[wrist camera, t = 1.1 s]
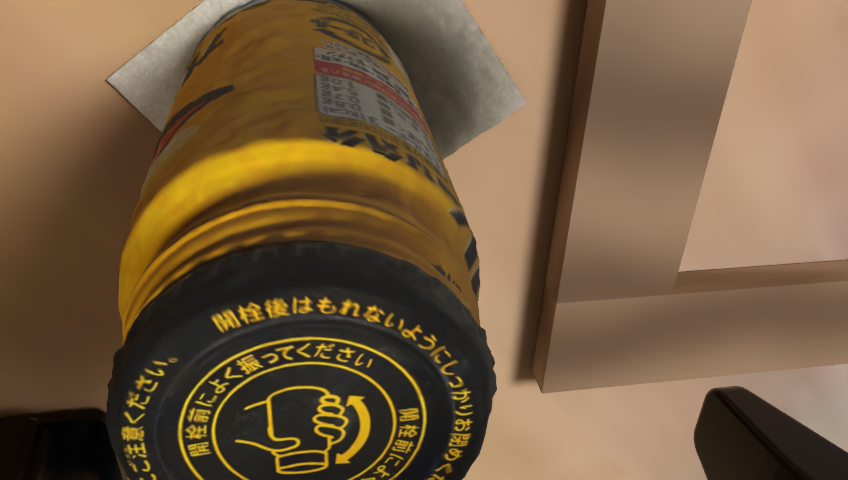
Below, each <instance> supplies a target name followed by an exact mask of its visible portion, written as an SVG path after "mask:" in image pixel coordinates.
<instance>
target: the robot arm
mask: <svg viewBox="0 0 848 480" xmlns="http://www.w3.org/2000/svg"><path fill="white" fill-rule="evenodd" d="M90 424H95V425H97V426H93V425H90ZM694 444H695V448H696V451H697V454H698V456H699V459H700V462H701V464H702V467H703V469H704V472H705V474H706V477H707V480H848V453H847V452H846V451H844V450H843V449H841V448H839V447H838V446H836V445H835V444H833V443H831V442H830V441H828V440H827V439H825V438H824V437H822V436H820V435H819V434H817V433H816V432H814V431H812V430H811V429H809V428H808V427H806V426H804V425H803V424H801V423H800V422H798V421H796V420H795V419H793V418H792V417H790V416H788V415H787V414H785V413H784V412H782V411H780V410H779V409H777V408H776V407H774V406H772V405H771V404H769V403H768V402H766V401H764V400H763V399H761V398H760V397H758V396H756V395H755V394H753V393H752V392H750V391H749V390H747V389H745V388H743V387H739V386H730V387H721V388H714V389H711V390H710V391H709V392H708V393H707V394H706V396H705V399H704V402H703V405H702V409H701V412H700V415H699V418H698V421H697V424H696V427H695V431H694ZM0 480H128V479H127V475H126V473H125V471H124V469H123V467H122V466H121V464H120V462H119V459H118V457H117V455H116V453H115V451H114V450H113V448H112V446H111V442H110V438H109V434H108V429H107V422H106V413H104V412H103V411H99V410H81V411H71V412H60V413H49V414H38V415H27V416H16V417H5V418H0Z"/></svg>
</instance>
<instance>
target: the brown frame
mask: <svg viewBox="0 0 848 480" xmlns="http://www.w3.org/2000/svg"><path fill="white" fill-rule="evenodd" d="M751 1H752V0H588V3H587V9H586V16H585V23H584V29H583V36H582V43H581V49H580V56H579V62H578V69H577V76H576V82H575V89H574V96H573V102H572V109H571V116H570V122H569V129H568V135H567V142H566V149H565V155H564V162H563V169H562V175H561V182H560V189H559V195H558V202H557V208H556V215H555V222H554V228H553V235H552V242H551V248H550V255H549V262H548V268H547V275H546V281H545V288H544V295H543V301H542V308H541V315H540V321H539V328H538V335H537V341H536V348H535V354H534V361H533V368H532V371H533V373H534V376H535V378H536V381H537V383H538V385H539V388H540V390H541V392H542V393H551V392H561V391H572V390H582V389H592V388H602V387H613V386H623V385H633V384H643V383H654V382H664V381H674V380H684V379H694V378H705V377H715V376H725V375H735V374H746V373H756V372H766V371H776V370H787V369H797V368H807V367H817V366H828V365H838V364H848V260H840V261H826V262H812V263H798V264H785V265H771V266H757V267H743V268H730V269H716V270H702V271H689V272H678V270H679V267H680V263H681V259H682V256H683V252H684V248H685V245H686V241H687V237H688V233H689V230H690V226H691V222H692V219H693V215H694V211H695V208H696V204H697V200H698V197H699V193H700V189H701V186H702V182H703V178H704V174H705V171H706V167H707V163H708V160H709V156H710V152H711V149H712V145H713V141H714V138H715V134H716V130H717V127H718V123H719V119H720V116H721V112H722V108H723V104H724V101H725V97H726V93H727V90H728V86H729V82H730V79H731V75H732V71H733V68H734V64H735V60H736V57H737V53H738V49H739V46H740V42H741V38H742V34H743V31H744V27H745V23H746V20H747V16H748V12H749V9H750V5H751Z"/></svg>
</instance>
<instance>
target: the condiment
mask: <svg viewBox="0 0 848 480" xmlns="http://www.w3.org/2000/svg"><path fill="white" fill-rule="evenodd" d="M107 81H108V82H109V83H110V84H112V85H113V86H114V87H115V88H116V89H117V90H118V91H119V92H120V93H121V94H122V95H123V96H124V97H125V98H126V99H127V100H128V101H129V102H130V103H131V104H132V105H133V106H135V107H136V108H137V110H138V111H139V112H141V113H142V114H143V115H144V116H145V117H147V118H148V119H149V120H150V122H151V123H152V124H153V125H154V126H155V127H156V128H157V129H158V130H160V131H161V132H162V136H161V137H160V138H159V141H158V144H157V147H156V150H155V154H154V157H153V162H152V164H151V165H150V168H149V171H148V175H147V176H146V178H145V182H144V183H143V185H142V188H141V192H140V200H139V202H138V203H137V204H136V206H135V207H134V210H133V214H132V219H131V222H130V225H129V229H128V233H127V235H126V238H125V241H124V247H123V249H122V252H121V256H120V263H119V291H118V295H119V296H118V305H119V312H120V316H121V320H122V324H123V326H122V343H123V344H122V347H121V348H120V349H119V350H118V351H117V352H115V355H114V357H113V370H112V378H111V379H110V381H109V383H108V390H109V392H108V400H107V411H106V422H107V429H108V434H109V438H110V442H111V446H112V448H113V450H114V451H115V453H116V455H117V457H118V459H119V462H120V464H121V466H122V467H123V469H124V471H125V473H126V475H127V477H128V478H129V479H130V480H462V479H463V478H464V477H465V475H466V474H467V472H468V470H469V468H470V467H471V465H472V464H473V462H474V461H475V460H476V458H477V457H478V455H479V453H480V450H481V447H482V444H483V441H484V437H485V433H486V429H487V423H488V418H489V415H490V412H491V410H492V398H493V396H494V394H495V392H496V390H497V387H496V374H495V372H494V370H493V367H494V364H495V362H494V358H493V356H492V354H491V351H490V349H489V347H488V345H487V337H486V332H485V330H484V329H483V328H481V327H480V320H479V309H478V302H477V301H478V297H479V289H480V278H479V257H478V253H477V249H476V240H475V238H474V236H473V233H472V231H471V229H470V227H469V225H468V222H467V219H466V216H465V213H464V210H463V207H462V205H461V203H460V201H459V199H458V197H457V194H456V192H455V190H454V187H453V184H452V182H451V180H450V177H449V175H448V172H447V169H446V168H445V165H444V163H443V159H444V158H446V157H448V156H449V155H451V154H453V153H454V152H455V151H456V150H458V149H459V148H460V147H461V146H463V145H465V144H466V143H468V142H469V141H471V140H472V139H474V138H475V137H476V136H478V135H480V134H481V133H483V132H485V131H487V130H488V129H490V128H491V127H493V126H495V125H497V124H498V123H500V122H501V121H503V120H504V119H505V118H506V117H508V116H509V115H511V114H512V113H513V112H515V111H516V110H518V109H519V108H521V107H522V106H524V105H525V104H527V101H526V100H525V98H524V96H523V95H522V93H521V92H520V90H519V89H518V87H517V85H516V84H515V83H514V81H513V80H512V78H511V76H510V75H509V73H508V72H507V70H506V69H505V67H504V65H503V64H502V62H501V61H500V59H499V58H498V56H497V55H496V53H495V51H494V50H493V48H492V47H491V45H490V44H489V42H488V41H487V39H486V38H485V36H484V34H483V33H482V31H481V29H480V28H479V26H478V25H477V23H476V22H475V20H474V19H473V17H472V16H471V14H470V13H469V11H468V9H467V8H466V6H465V5H464V3H463V1H462V0H204V1H203V2H202V3H201V4H200V5H198V6H197V7H196V8H195V9H193V10H192V11H191V12H190V13H188V14H187V15H186V16H184V17H183V18H182V19H181V20H180V21H178V22H177V23H176V24H175V25H173V26H172V27H171V28H169V29H168V30H167V31H166V32H164V33H163V34H162V35H161V36H159V37H158V38H157V39H156V40H155V41H153V42H152V43H151V44H150V45H149V46H147V47H146V48H145V49H144V50H142V51H141V52H140V53H138V54H137V55H136V56H135V57H133V58H132V59H131V60H130V61H128V62H127V63H126V64H125V65H124V66H122V67H121V68H120V69H119V70H118V71H116V72H115V73H114V74H113V75H112V76H111V77H110V78H108V79H107Z"/></svg>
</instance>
